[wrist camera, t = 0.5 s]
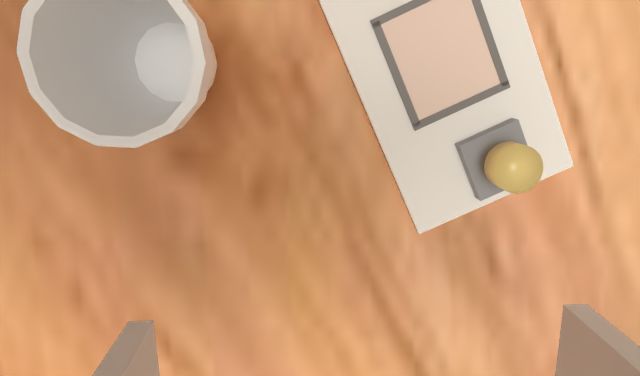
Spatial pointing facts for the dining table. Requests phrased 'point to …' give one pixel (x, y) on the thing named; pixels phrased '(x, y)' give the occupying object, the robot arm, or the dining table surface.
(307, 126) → the dining table surface
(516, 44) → the white flat panel
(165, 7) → the foam cup
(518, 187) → the button
